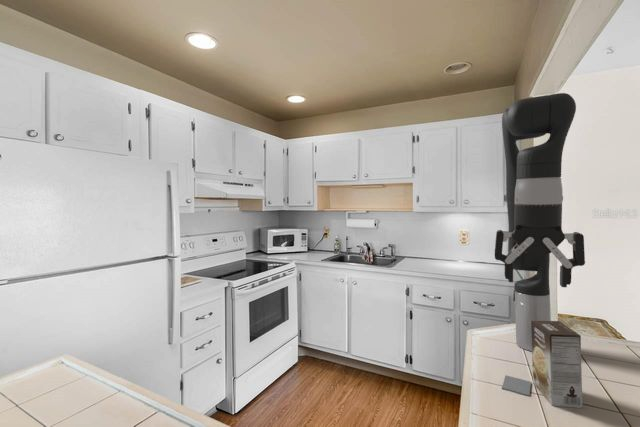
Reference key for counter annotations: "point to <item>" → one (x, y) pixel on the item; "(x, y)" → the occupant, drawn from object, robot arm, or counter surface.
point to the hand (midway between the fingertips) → (535, 283)
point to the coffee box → (557, 363)
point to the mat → (516, 385)
